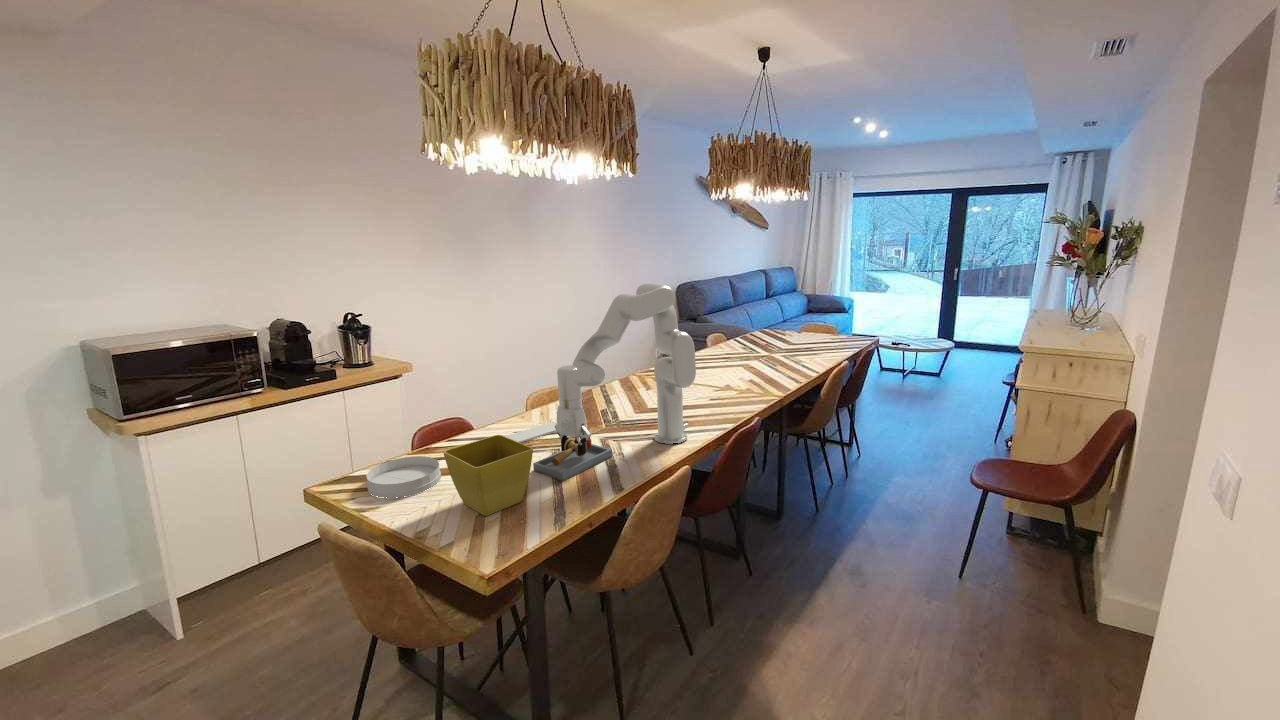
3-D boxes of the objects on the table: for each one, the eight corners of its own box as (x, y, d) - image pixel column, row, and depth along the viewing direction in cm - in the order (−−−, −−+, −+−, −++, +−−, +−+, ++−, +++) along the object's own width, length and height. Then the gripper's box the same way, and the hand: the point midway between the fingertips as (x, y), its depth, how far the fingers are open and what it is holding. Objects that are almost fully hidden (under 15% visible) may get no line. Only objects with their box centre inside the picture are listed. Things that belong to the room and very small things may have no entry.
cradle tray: (583, 448, 205) (582, 441, 204) (612, 456, 197) (611, 449, 196) (533, 471, 187) (533, 463, 186) (563, 481, 178) (562, 473, 178)
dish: (455, 475, 186) (454, 461, 185) (404, 504, 167) (402, 489, 165) (406, 466, 195) (404, 452, 194) (351, 493, 175) (349, 478, 174)
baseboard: (483, 443, 215) (499, 451, 206) (482, 436, 214) (498, 444, 206) (549, 423, 235) (566, 430, 227) (549, 416, 235) (566, 423, 226)
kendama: (567, 472, 181) (598, 446, 196) (561, 454, 180) (593, 429, 194) (550, 471, 186) (582, 446, 200) (544, 454, 184) (577, 430, 198)
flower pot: (503, 482, 179) (498, 433, 175) (538, 500, 166) (534, 447, 162) (447, 504, 165) (441, 451, 162) (481, 525, 153) (475, 468, 149)
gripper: (544, 401, 189) (548, 450, 193) (581, 409, 179) (584, 461, 183) (560, 395, 195) (563, 443, 199) (597, 403, 184) (599, 454, 188)
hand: (573, 451), depth 191 cm, fingers closed on kendama, 7 cm apart
